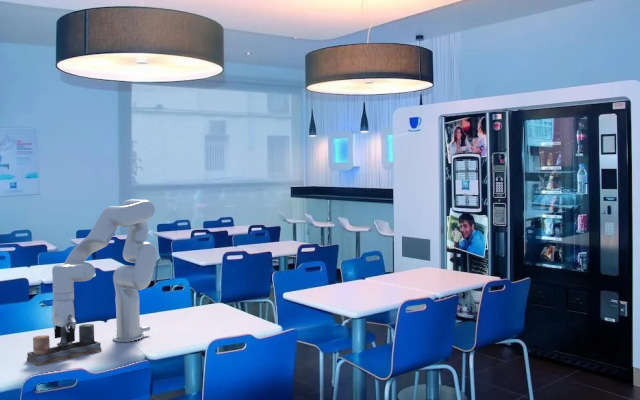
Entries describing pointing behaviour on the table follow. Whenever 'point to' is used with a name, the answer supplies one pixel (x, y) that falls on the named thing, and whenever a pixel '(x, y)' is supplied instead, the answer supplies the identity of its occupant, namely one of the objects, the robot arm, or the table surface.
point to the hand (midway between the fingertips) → (64, 339)
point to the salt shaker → (64, 340)
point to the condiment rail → (49, 355)
